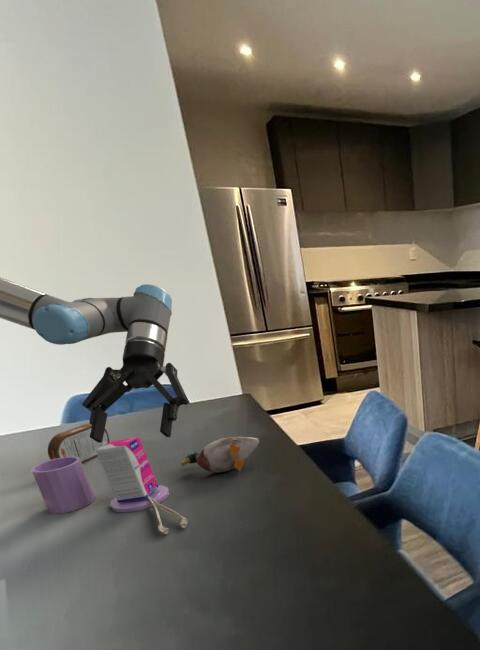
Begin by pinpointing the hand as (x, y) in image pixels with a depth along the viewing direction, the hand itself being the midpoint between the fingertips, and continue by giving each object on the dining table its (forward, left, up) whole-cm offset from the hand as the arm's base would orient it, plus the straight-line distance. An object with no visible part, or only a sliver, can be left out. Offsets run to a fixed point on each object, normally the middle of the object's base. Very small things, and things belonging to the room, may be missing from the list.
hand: (130, 437), depth 99 cm
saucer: (-1, -3, -12) cm, 13 cm away
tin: (-16, +32, -13) cm, 38 cm away
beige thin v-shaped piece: (+3, -14, -12) cm, 19 cm away
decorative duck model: (+16, +6, -13) cm, 21 cm away
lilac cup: (-14, +3, -12) cm, 19 cm away
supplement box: (-1, -3, -11) cm, 12 cm away
